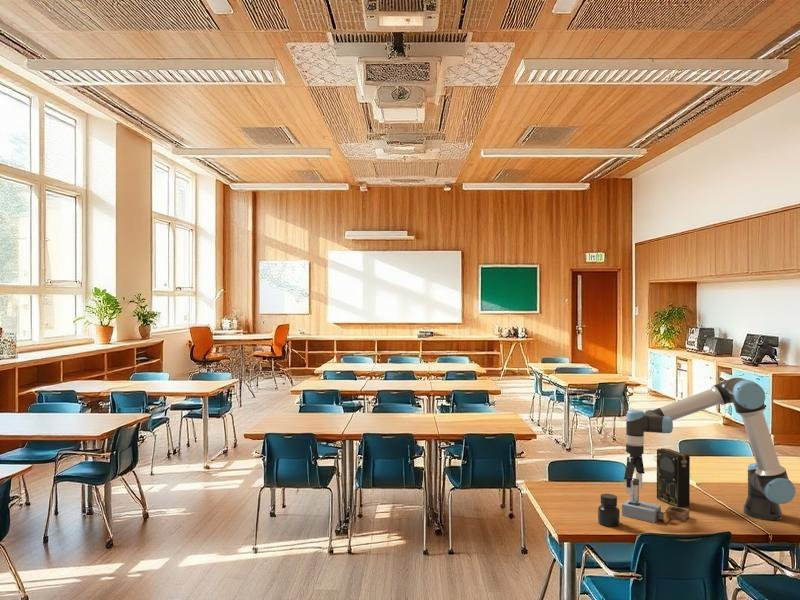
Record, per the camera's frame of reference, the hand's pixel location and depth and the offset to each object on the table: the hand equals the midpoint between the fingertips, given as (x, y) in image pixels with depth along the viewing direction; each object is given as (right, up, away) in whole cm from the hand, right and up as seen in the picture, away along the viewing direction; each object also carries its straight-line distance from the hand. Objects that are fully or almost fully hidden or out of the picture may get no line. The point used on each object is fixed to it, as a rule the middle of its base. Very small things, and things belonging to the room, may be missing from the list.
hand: (634, 491), depth 267 cm
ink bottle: (-16, -11, -12) cm, 22 cm away
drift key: (+8, -10, -6) cm, 15 cm away
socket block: (+2, -11, -2) cm, 11 cm away
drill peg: (0, -11, 0) cm, 11 cm away
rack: (+18, -11, -3) cm, 21 cm away
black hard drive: (+25, -12, +17) cm, 32 cm away
